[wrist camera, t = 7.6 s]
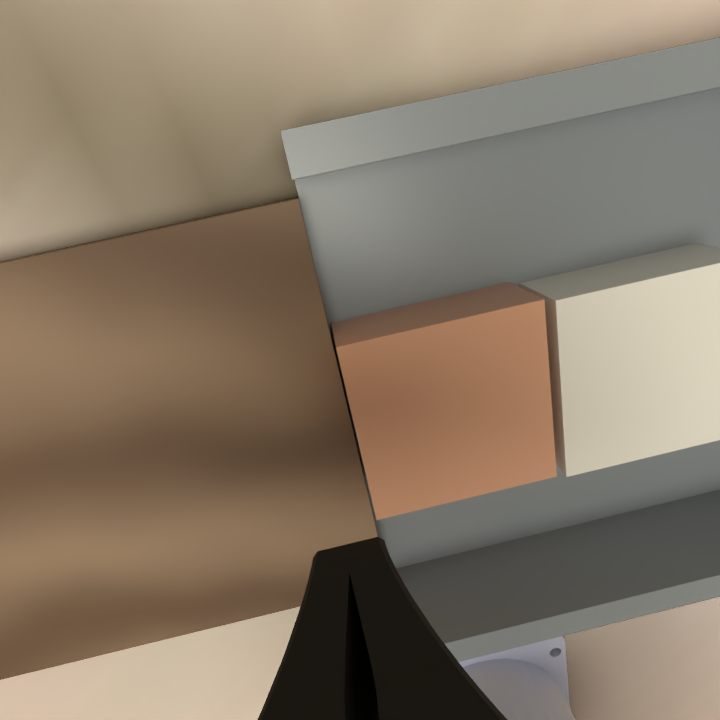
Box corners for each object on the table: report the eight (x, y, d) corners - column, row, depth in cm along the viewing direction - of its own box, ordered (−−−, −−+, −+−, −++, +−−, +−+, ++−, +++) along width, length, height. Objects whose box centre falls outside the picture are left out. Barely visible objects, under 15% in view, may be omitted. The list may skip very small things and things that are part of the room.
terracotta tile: (524, 438, 18) (556, 476, 16) (367, 476, 18) (376, 520, 16) (509, 282, 16) (544, 299, 14) (330, 322, 16) (335, 347, 14)
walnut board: (383, 556, 20) (388, 584, 18) (-15, 652, 19) (-40, 689, 18) (298, 196, 15) (298, 198, 13) (-240, 314, 14) (-299, 328, 13)
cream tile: (686, 402, 19) (741, 434, 16) (533, 439, 18) (566, 476, 16) (693, 243, 16) (757, 254, 14) (519, 283, 16) (555, 300, 14)
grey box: (779, 488, 21) (883, 555, 17) (389, 584, 20) (408, 674, 17) (838, 25, 15) (1017, -27, 11) (286, 143, 14) (280, 130, 11)
